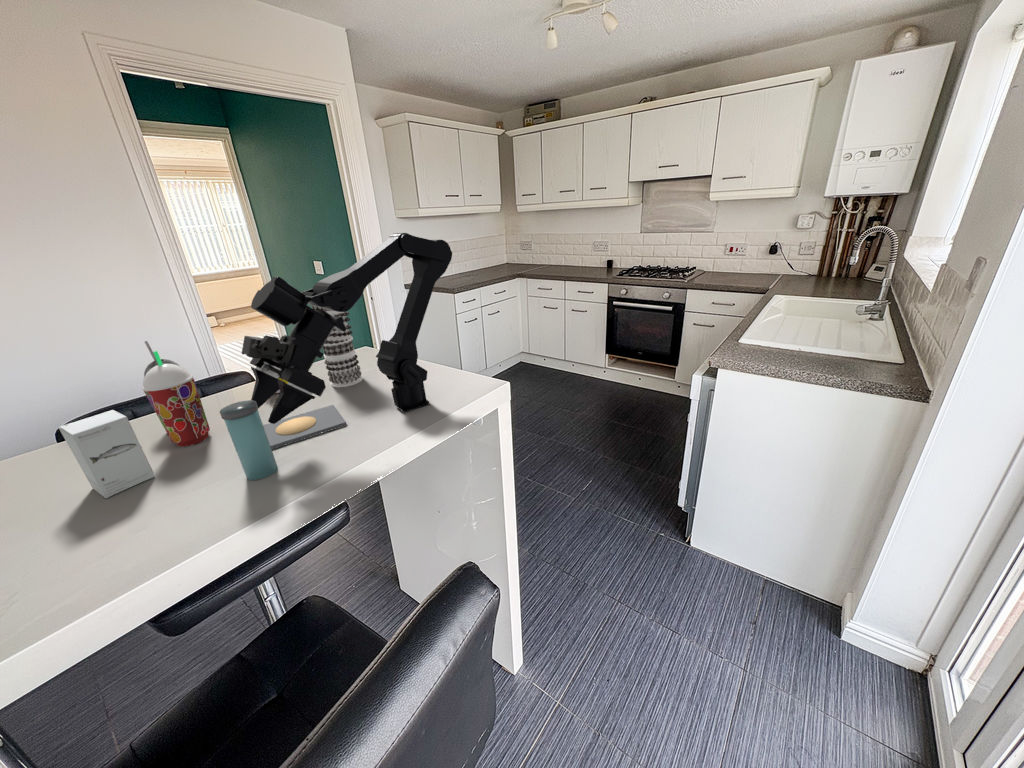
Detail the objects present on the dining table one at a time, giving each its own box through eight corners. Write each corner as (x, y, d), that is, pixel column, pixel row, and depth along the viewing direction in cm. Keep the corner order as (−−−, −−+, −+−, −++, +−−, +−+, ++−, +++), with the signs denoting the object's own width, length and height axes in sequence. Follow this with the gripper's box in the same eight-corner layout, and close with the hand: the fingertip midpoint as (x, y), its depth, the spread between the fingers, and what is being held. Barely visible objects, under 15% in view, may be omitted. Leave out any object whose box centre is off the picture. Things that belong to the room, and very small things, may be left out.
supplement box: (105, 500, 70) (69, 435, 65) (91, 488, 74) (56, 426, 69) (157, 476, 76) (127, 415, 71) (141, 466, 79) (112, 408, 75)
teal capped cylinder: (276, 460, 78) (255, 397, 73) (280, 472, 74) (257, 407, 69) (244, 471, 75) (219, 406, 70) (246, 484, 71) (219, 417, 66)
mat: (334, 407, 98) (333, 403, 98) (346, 425, 89) (345, 421, 89) (248, 433, 89) (246, 428, 89) (252, 455, 80) (250, 451, 80)
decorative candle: (347, 389, 109) (323, 294, 99) (321, 386, 112) (296, 294, 103) (371, 376, 116) (350, 287, 107) (346, 374, 120) (324, 287, 110)
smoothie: (224, 433, 90) (190, 346, 82) (183, 453, 83) (141, 360, 75) (202, 428, 93) (167, 344, 86) (160, 446, 86) (118, 357, 79)
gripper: (246, 311, 75) (197, 386, 72) (287, 321, 64) (230, 412, 60) (300, 341, 84) (259, 410, 80) (346, 355, 72) (299, 436, 69)
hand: (261, 416), depth 72 cm, fingers open, 9 cm apart
